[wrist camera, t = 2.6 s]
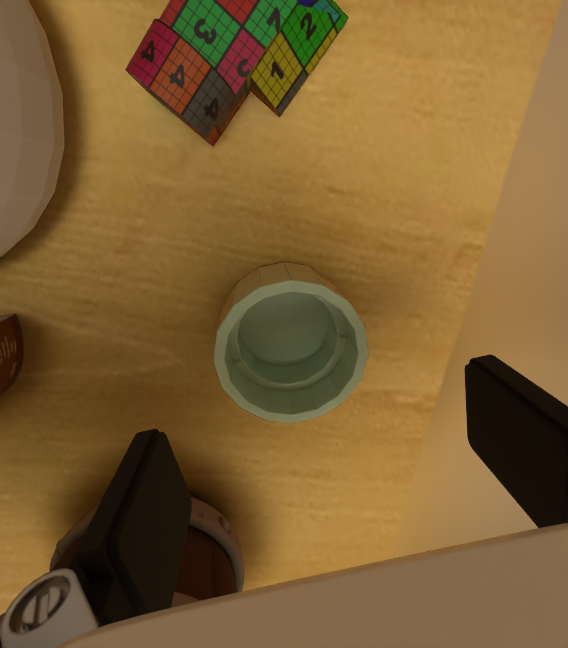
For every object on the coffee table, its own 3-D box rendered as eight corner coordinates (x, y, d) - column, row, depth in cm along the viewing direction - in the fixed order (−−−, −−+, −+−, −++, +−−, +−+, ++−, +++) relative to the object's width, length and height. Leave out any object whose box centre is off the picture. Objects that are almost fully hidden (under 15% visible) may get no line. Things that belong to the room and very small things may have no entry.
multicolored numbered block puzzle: (242, 170, 18) (238, 162, 14) (147, 91, 17) (110, 55, 13) (346, 21, 16) (378, -39, 12) (250, -81, 15) (248, -191, 11)
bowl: (240, 385, 22) (236, 436, 18) (208, 276, 20) (194, 302, 15) (350, 360, 22) (376, 404, 18) (332, 248, 20) (356, 265, 15)
